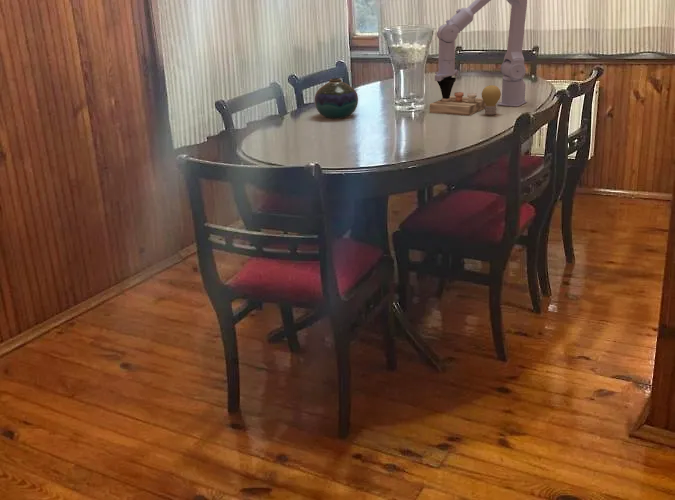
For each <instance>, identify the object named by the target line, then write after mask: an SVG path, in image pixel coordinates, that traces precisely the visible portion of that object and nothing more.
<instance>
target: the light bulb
mask: <svg viewBox="0 0 675 500" xmlns="http://www.w3.org/2000/svg"><path fill="white" fill-rule="evenodd" d="M501 97H502V91H501V89H500V88H499V87H498V86H496V85H493V84H491V85H487V86H485V87H484V88H483V89H482V92H481V98H482V99H483V101H484V102H485V104H486V106H485V110H484V111H485V112H484V113H485V115H487V116H494V115H496V114H497V104H498V103H499V101H500V99H501Z"/></svg>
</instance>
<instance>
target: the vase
mask: <svg viewBox="0 0 675 500" xmlns="http://www.w3.org/2000/svg"><path fill="white" fill-rule="evenodd" d="M358 103H359V97H358V93H357V91H356V90H355V88H354V87H353V86H351V85H349V84H348V83H346V82H344V81H342V78H340V77H339V78H338V77H334V78H330V79H329V81H328V82H327V83H325V84H323V85H322V86H321V87H320V88H319V89H318V90H316V92H315V95H314V107H315V108H316V110H317V112H318V113H319V114H320V115H321V116H323V118H328V119H344V118H348V117H350V116H351V115H352V114H353V113H354V112H355V110H356V109H357V108H358Z"/></svg>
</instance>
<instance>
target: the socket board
mask: <svg viewBox="0 0 675 500" xmlns="http://www.w3.org/2000/svg"><path fill="white" fill-rule="evenodd" d="M450 98H451V101H450V102H444V101H442V98H441V99H439V100H436V101H435V102H432V103H429V113H431V114H432V113H433V114H443V115H445V114H446V115H453V116H454V115H455V116H456V115H458V116H466V117H469V116H471V115H473V114H475V113H478V112H480V111H482V110H484V109H485V106H486V104H485V102H484V101H483V99H482V97H480V98H479V97H475V102H472V103H471V102H468V98H469V97H465V96H462V101H460V102H458V101H455V100H456V96H454V95H453V96H451V95H450Z"/></svg>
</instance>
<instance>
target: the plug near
mask: <svg viewBox="0 0 675 500" xmlns="http://www.w3.org/2000/svg"><path fill="white" fill-rule="evenodd" d="M467 97H468V102H471V103H472V102H475V98H478V97H477V93H475V92H468V93H467Z"/></svg>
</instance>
